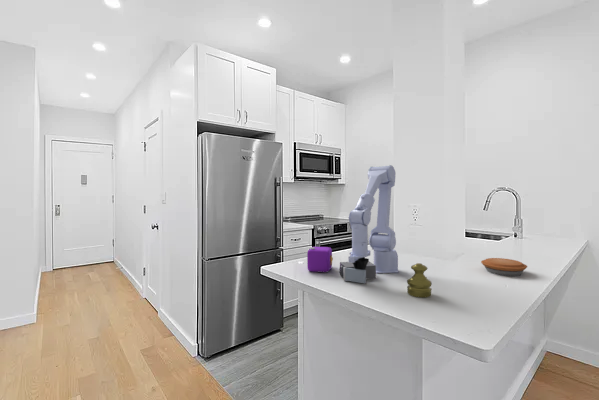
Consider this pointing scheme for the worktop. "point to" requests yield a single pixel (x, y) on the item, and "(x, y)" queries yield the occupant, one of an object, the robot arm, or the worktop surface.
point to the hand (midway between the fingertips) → (360, 277)
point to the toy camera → (319, 259)
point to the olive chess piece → (419, 282)
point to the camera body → (369, 269)
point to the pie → (504, 266)
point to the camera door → (354, 275)
